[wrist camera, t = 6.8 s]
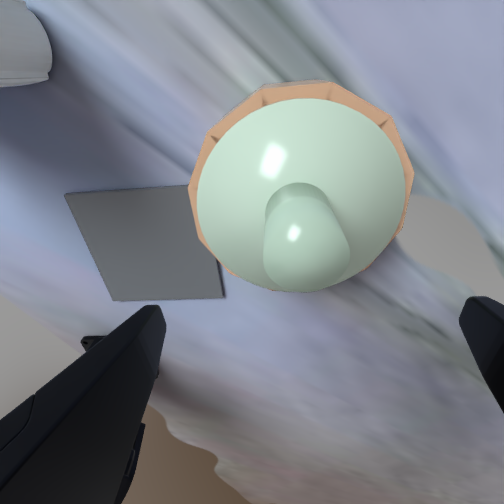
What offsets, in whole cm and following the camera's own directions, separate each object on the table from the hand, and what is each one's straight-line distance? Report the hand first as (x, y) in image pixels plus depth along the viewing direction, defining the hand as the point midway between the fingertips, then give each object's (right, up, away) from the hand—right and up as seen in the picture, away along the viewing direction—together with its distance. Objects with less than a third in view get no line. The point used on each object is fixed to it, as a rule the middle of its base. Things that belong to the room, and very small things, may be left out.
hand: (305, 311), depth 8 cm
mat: (-10, +2, +14) cm, 17 cm away
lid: (+1, +4, +6) cm, 7 cm away
